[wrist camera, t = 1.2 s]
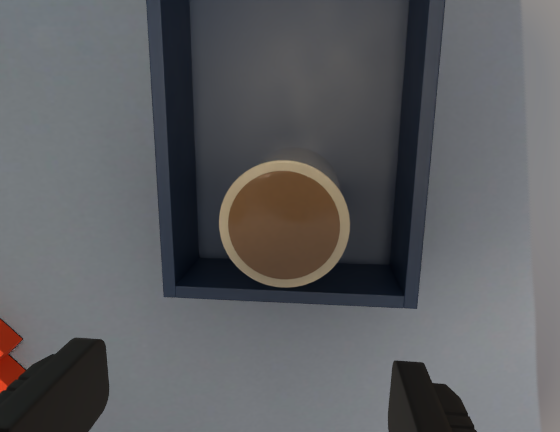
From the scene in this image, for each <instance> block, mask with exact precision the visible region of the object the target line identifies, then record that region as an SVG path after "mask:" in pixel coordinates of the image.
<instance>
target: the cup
mask: <svg viewBox="0 0 560 432" xmlns="http://www.w3.org/2000/svg"><path fill="white" fill-rule="evenodd" d="M219 231H220V237H221V240H222V243H223V246H224V248H225V250H226V253H227V254H228V256H229V257H230V259H231V260H232V262H233V263H234V264H235V265H236V266H237V267H238V268H239V269H240V270H241V271H242V272H243V273H245V274H246V275H247V276H249V277H250V278H252V279H254V280H256V281H258V282H260V283H263V284H266V285H269V286H274V287H285V288H289V287H298V286H302V285H306V284H309V283H311V282H314V281H316V280H318V279H319V278H321V277H322V276H324V275H325V274H327V273H328V272H329V271H330V270H331V269H332V268H333V267H334V266H335V265H336V264H337V262H338V261H339V260H340V258H341V257H342V255H343V253H344V251H345V249H346V246H347V243H348V240H349V234H350V216H349V211H348V207H347V204H346V201H345V197H344V194H343V191H342V188H341V185H340V182H339V179H338V176H337V174H336V172H335V170H334V168H333V167H332V166H331V164H330V163H329V162H328V161H327V160H326V159H325V158H323V157H322V156H321V155H319V154H318V153H316V152H314V151H312V150H309V149H305V148H300V147H287V148H282V149H278V150H276V151H274V152H272V153H270V154H268V155H267V156H265V157H264V158H263V159H261V160H260V161H259V162H258V163H256V164H255V165H254V166H252V167H251V168H250V169H248V170H247V171H246V172H244V173H243V174H242V175H241V176H239V177H238V178H237V179H236V181H235V182H234V183H233V184H232V185H231V187H230V188H229V189H228V191H227V193H226V195H225V197H224V199H223V202H222V205H221V209H220V214H219Z"/></svg>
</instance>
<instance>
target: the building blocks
mask: <svg viewBox="0 0 560 432" xmlns="http://www.w3.org/2000/svg"><path fill="white" fill-rule="evenodd" d="M21 341H22V338H21V337H20V336H18V335H17V334H16V333H15V332H14V331H13V330H12V329H11V328H10V327H9V326H7V325H6V324H5V323H4V322H3V321H2V320H1V319H0V393H1V392H2V391H3V390H6V388H7V387H8V386H9V385H10V384H11V383H12V382H13V381H14V380H18V377H19V376H20V375H21V374H22V373H24V372H25V371H26V370H25V369H24V368H22V367H21V366H20V365H19V364H18V363H17V362H16V361H15V360H14V359H12V358H11V357H10V356H9V355H8V354H9V353H10V352H11V351H12V350H13V349H14V348H15V347H16V346H17V345H18V344H19V343H20V342H21Z"/></svg>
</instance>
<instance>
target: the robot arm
mask: <svg viewBox="0 0 560 432" xmlns="http://www.w3.org/2000/svg"><path fill="white" fill-rule="evenodd" d="M108 396H109V379H108V367H107V355H106V346H105V343H104V341H103V340H101V339H89V338H73V339H72V340H70V341H69V342H68V343H67V344H66V345H65V346H64V347H63V348H62V349H60V350H59V351H58V352H57V353H56V354H52V355H50V356H48V357H46V358H44V359H42V360H40V361H39V362H37V363H35V364H33V365H32V366H31V367H29V368H28V369H27V370H26V371H25V372H24V373H22V374H21V375H20V376H19V377H18V380H14V381H13V382H12V383H11V384H10V385H9V386H8V387H7V388H6V390H3V391H2V392H1V393H0V432H88V431H89V430H90V429H91V427H92V426H93V425H94V423H95V422H96V420H97V419H98V418H99V416H100V415H101V414H102V412H103V411H104V409H105V406H106V404H107V401H108ZM388 429H389V432H477V431H476V430H475V429H474V425H473V423H472V421H471V419H470V417H468V413H467V411H466V409H465V407H464V405H463V403H462V401H461V399H460V397H459V396H458V395H456V394H455V393H454V392H453V391H452V390H451V389H450V388H449V387H448V386H447V385H446V384H437V383H432V381H431V379H430V376H429V374H428V372H427V369H426V367H425V365H424V363H422V362H408V361H394V362H393V367H392V376H391V387H390V398H389V408H388Z"/></svg>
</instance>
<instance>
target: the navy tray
mask: <svg viewBox="0 0 560 432" xmlns="http://www.w3.org/2000/svg"><path fill="white" fill-rule="evenodd" d="M146 4H147V21H148V38H149V55H150V72H151V89H152V106H153V123H154V140H155V157H156V174H157V191H158V208H159V224H160V241H161V258H162V275H163V292H164V297H176V298H196V299H218V300H239V301H261V302H282V303H304V304H325V305H346V306H368V307H389V308H403V307H404V308H411V309H417V304H418V293H419V282H420V271H421V260H422V249H423V238H424V227H425V216H426V205H427V194H428V183H429V172H430V161H431V151H432V140H433V129H434V118H435V107H436V96H437V85H438V74H439V63H440V52H441V41H442V30H443V19H444V8H445V0H146ZM287 147H300V148H305V149H309V150H312V151H314V152H316V153H318V154H319V155H321V156H322V157H323V158H325V159H326V160H327V161H328V162H329V163H330V164H331V166H332V167H333V168H334V170H335V172H336V174H337V176H338V179H339V182H340V185H341V188H342V191H343V194H344V197H345V201H346V204H347V207H348V211H349V216H350V234H349V240H348V243H347V246H346V249H345V251H344V253H343V255H342V257H341V258H340V260H339V261H338V262H337V264H336V265H335V266H334V267H333V268H332V269H331V270H330V271H329V272H328V273H327V274H325V275H324V276H322V277H321V278H319V279H318V280H316V281H314V282H311V283H309V284H306V285H302V286H298V287H289V288H285V287H274V286H269V285H266V284H263V283H260V282H258V281H256V280H254V279H252V278H250V277H249V276H247V275H246V274H245V273H243V272H242V271H241V270H240V269H239V268H238V267H237V266H236V265H235V264H234V263H233V262H232V260H231V259H230V257H229V256H228V254H227V253H226V250H225V248H224V246H223V243H222V240H221V237H220V231H219V214H220V209H221V205H222V202H223V199H224V197H225V195H226V193H227V191H228V189H229V188H230V187H231V185H232V184H233V183H234V182H235V181H236V179H237V178H238V177H239V176H241V175H242V174H243V173H244V172H246V171H247V170H248V169H250V168H251V167H252V166H254V165H255V164H256V163H258V162H259V161H260V160H261V159H263V158H264V157H265V156H267V155H268V154H270V153H272V152H274V151H276V150H278V149H282V148H287Z"/></svg>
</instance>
